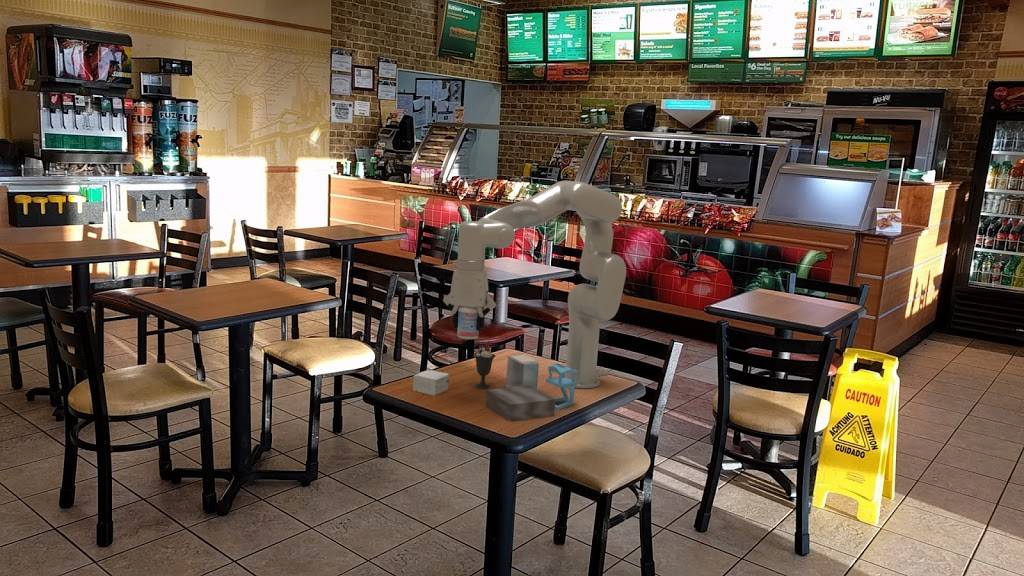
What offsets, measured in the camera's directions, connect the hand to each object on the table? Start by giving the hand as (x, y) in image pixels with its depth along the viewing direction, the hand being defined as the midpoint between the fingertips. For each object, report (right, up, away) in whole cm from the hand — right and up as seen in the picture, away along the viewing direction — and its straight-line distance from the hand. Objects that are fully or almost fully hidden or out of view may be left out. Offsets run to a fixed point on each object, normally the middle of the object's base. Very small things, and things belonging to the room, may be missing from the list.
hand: (468, 328), depth 220 cm
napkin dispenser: (+15, -20, +15) cm, 29 cm away
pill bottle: (0, -3, 0) cm, 3 cm away
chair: (+26, -23, +5) cm, 35 cm away
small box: (-12, -19, +11) cm, 25 cm away
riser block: (+14, -23, -2) cm, 28 cm away
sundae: (+3, -19, +17) cm, 26 cm away
